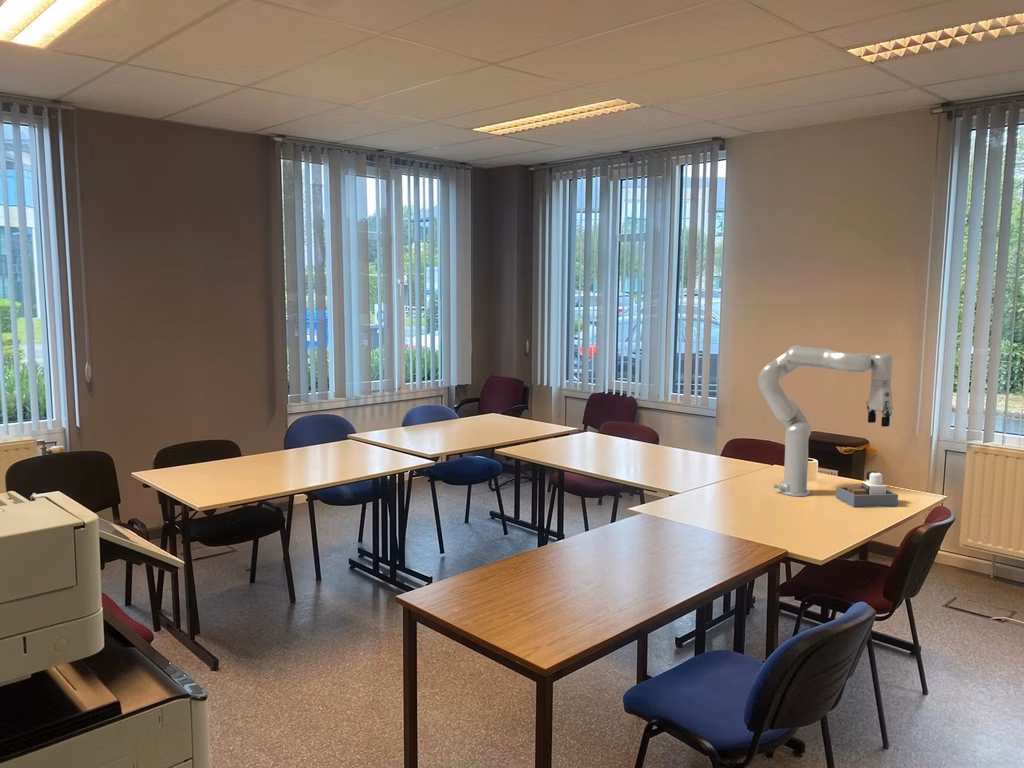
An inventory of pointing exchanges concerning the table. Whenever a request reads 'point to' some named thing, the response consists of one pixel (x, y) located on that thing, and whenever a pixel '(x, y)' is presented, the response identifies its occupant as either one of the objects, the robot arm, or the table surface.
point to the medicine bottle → (874, 483)
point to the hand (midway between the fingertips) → (878, 424)
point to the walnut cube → (856, 491)
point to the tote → (866, 498)
